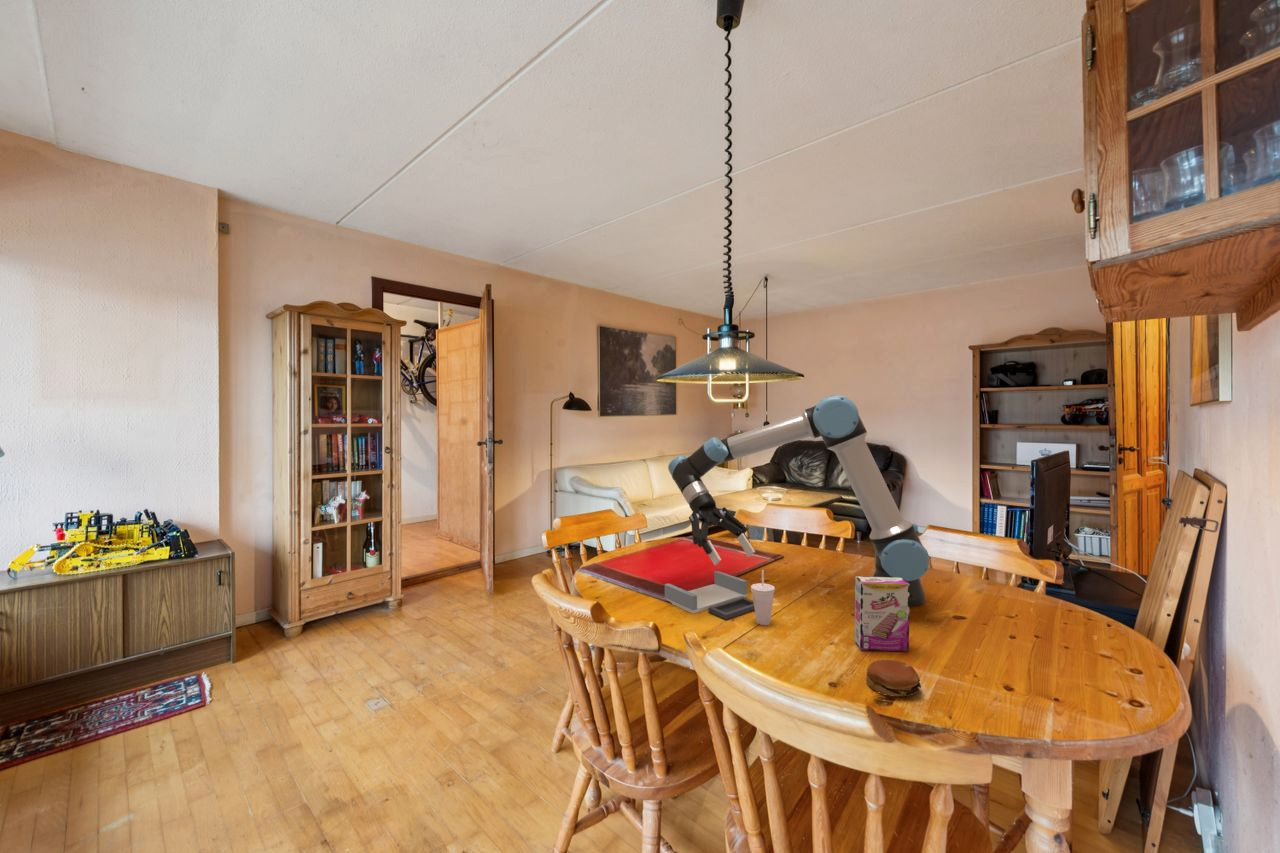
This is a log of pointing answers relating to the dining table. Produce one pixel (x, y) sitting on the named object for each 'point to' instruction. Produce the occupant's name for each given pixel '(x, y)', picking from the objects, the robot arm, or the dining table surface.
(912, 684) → the burger
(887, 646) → the candy bar box
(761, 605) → the smoothie
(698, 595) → the walled channel
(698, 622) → the dining table surface
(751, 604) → the tray
